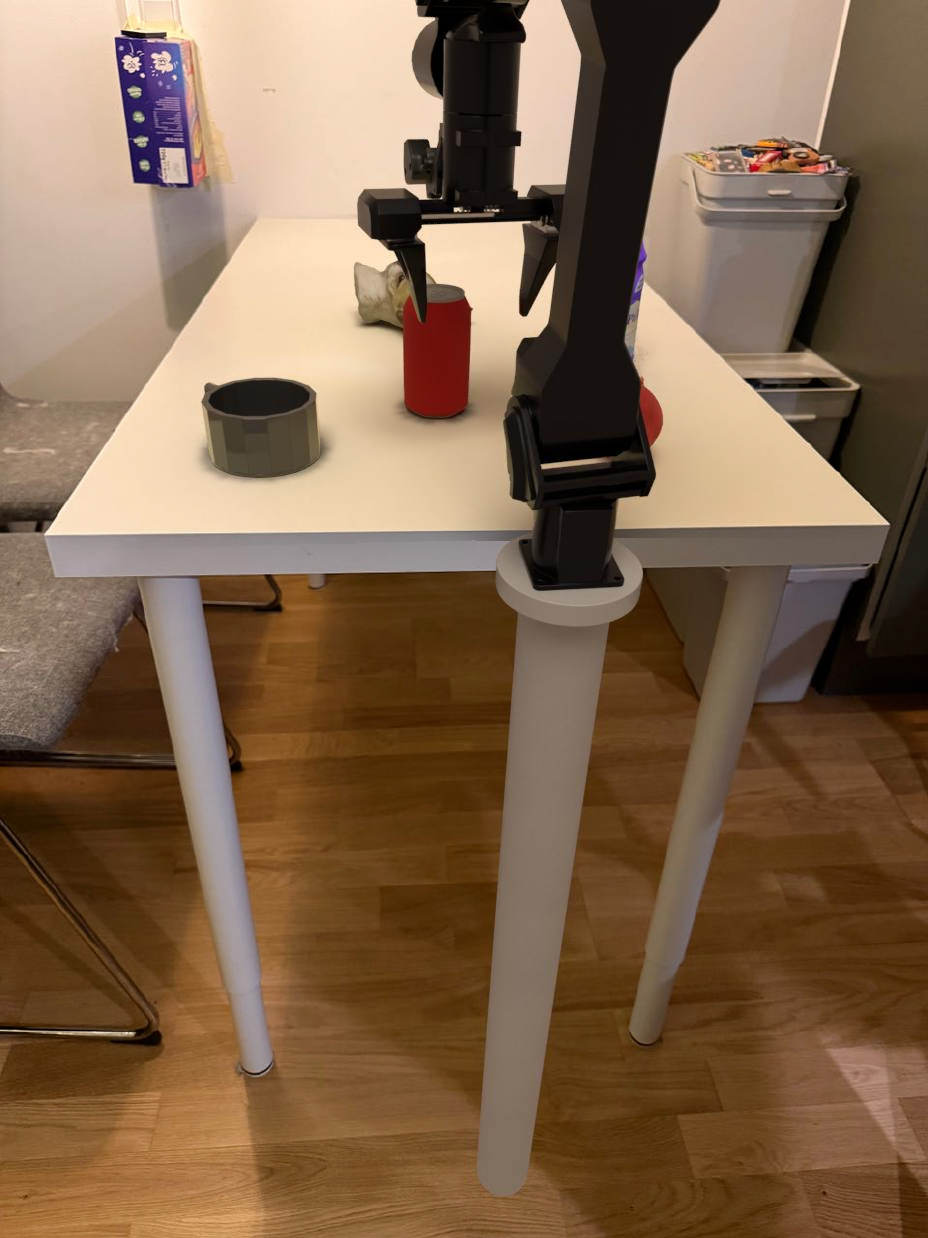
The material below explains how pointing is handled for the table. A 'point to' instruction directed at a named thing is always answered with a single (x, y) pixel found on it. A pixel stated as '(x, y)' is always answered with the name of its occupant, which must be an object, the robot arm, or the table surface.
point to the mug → (261, 426)
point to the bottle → (635, 305)
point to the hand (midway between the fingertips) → (473, 318)
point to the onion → (650, 413)
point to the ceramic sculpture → (382, 293)
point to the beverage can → (437, 353)
